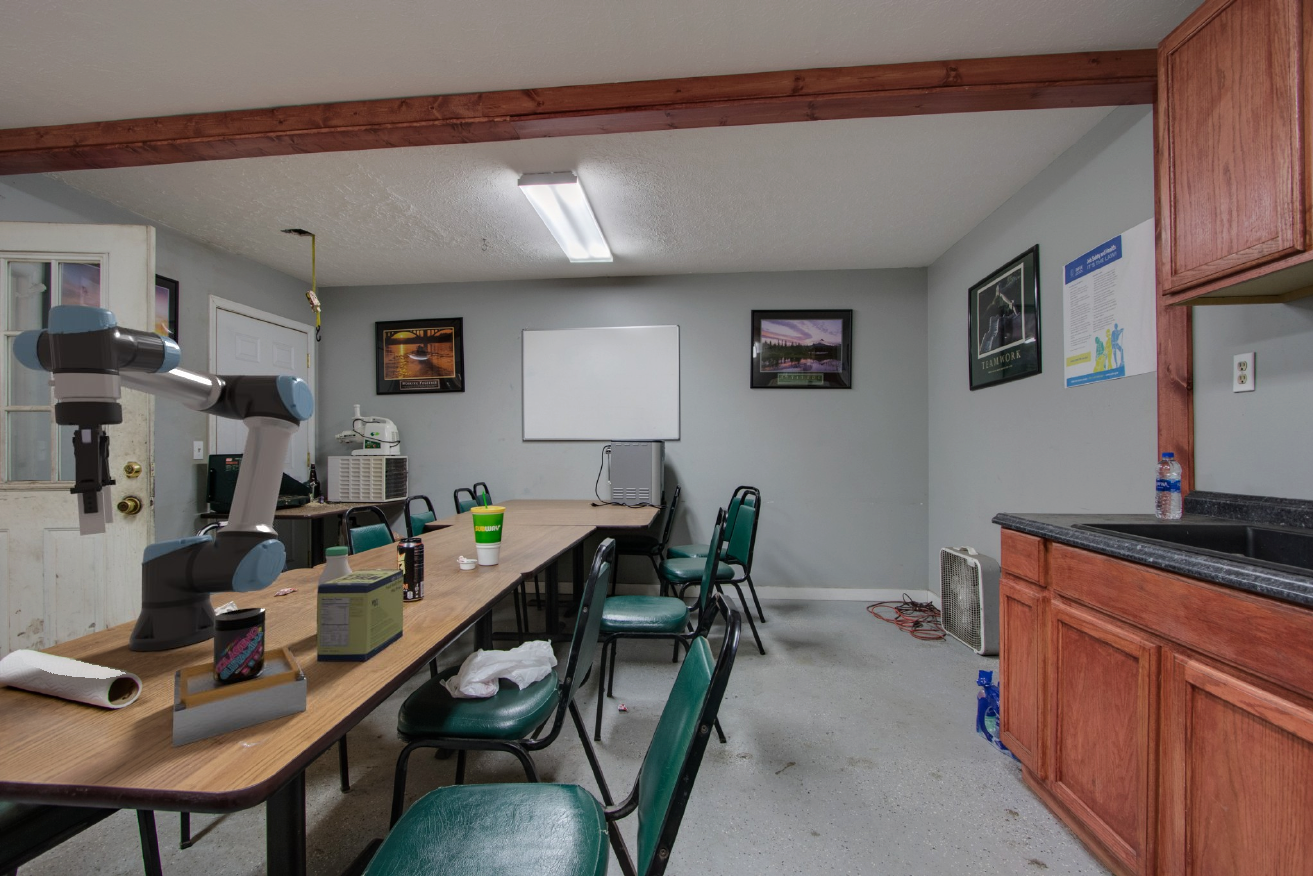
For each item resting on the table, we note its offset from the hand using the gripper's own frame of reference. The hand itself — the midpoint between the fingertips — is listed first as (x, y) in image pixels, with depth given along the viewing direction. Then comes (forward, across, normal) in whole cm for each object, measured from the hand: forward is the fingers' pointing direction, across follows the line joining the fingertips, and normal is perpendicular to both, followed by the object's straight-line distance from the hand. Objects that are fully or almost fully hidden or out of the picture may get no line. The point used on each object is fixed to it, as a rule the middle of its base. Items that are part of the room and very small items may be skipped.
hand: (98, 528), depth 86 cm
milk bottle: (+33, -15, +36) cm, 51 cm away
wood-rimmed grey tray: (+30, +16, +16) cm, 38 cm away
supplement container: (+26, +16, +16) cm, 34 cm away
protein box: (+33, +1, +38) cm, 50 cm away
